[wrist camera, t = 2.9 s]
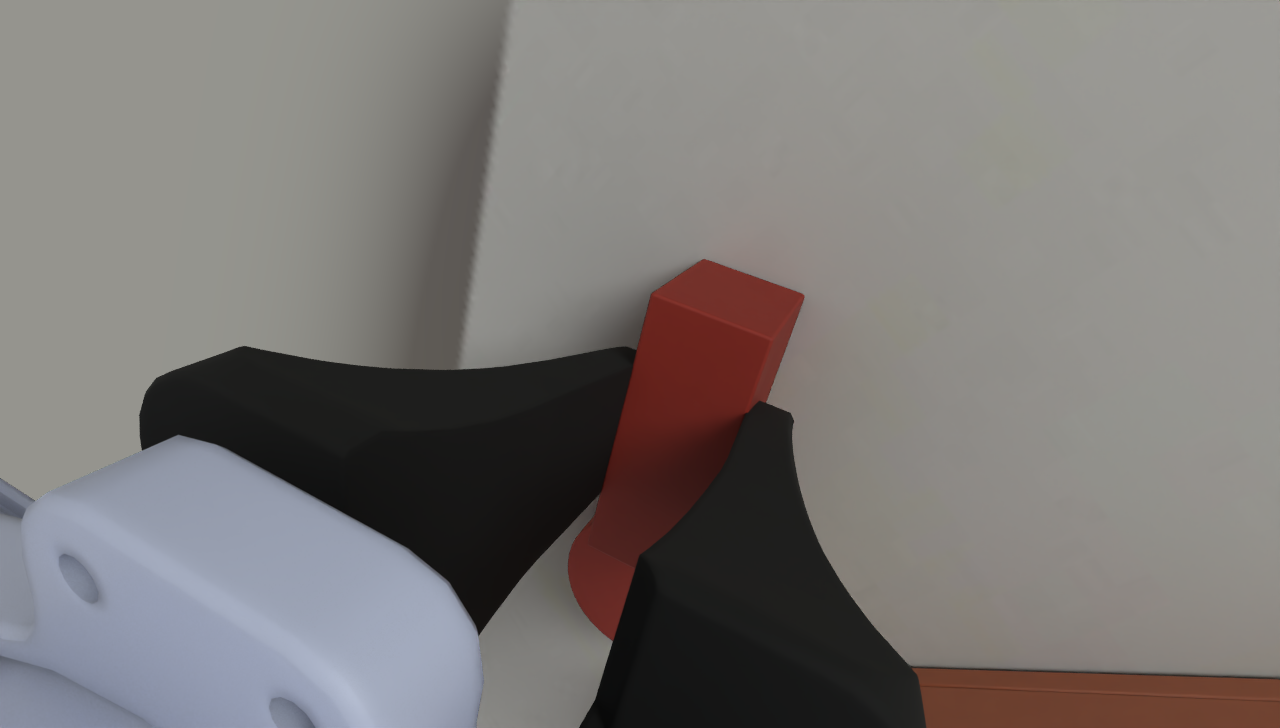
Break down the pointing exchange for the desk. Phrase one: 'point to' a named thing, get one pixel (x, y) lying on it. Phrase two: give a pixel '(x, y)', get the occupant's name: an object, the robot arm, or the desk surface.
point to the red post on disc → (678, 419)
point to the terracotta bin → (1094, 700)
